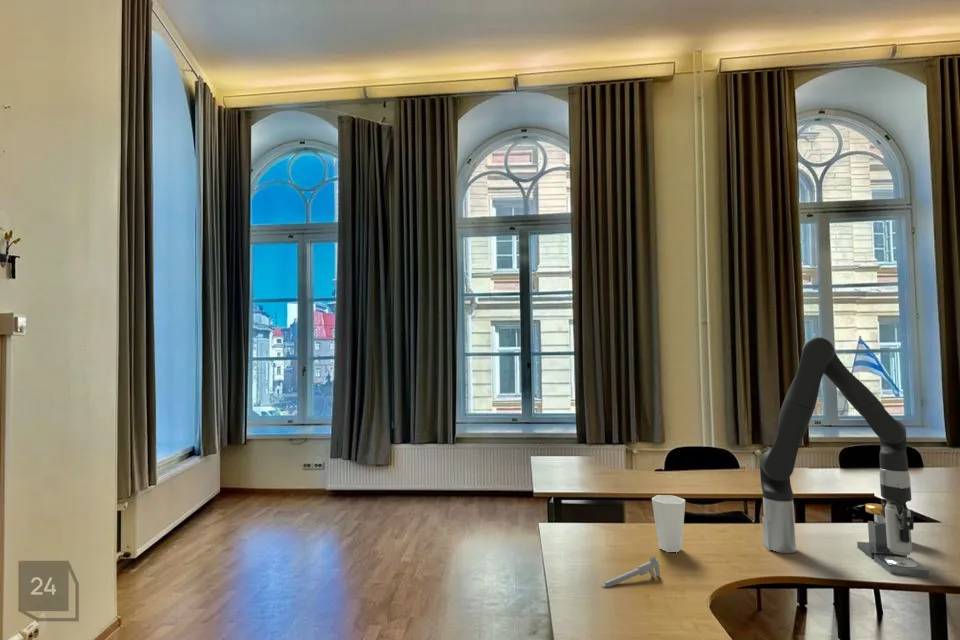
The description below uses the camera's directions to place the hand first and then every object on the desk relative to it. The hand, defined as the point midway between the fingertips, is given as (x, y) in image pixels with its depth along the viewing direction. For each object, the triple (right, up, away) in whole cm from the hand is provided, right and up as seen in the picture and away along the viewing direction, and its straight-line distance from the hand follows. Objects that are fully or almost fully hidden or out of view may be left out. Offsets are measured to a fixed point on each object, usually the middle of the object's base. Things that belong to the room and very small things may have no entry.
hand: (898, 537), depth 160 cm
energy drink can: (0, -5, 0) cm, 5 cm away
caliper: (-87, -10, -7) cm, 87 cm away
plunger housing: (+3, -10, +11) cm, 15 cm away
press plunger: (+3, -4, +11) cm, 12 cm away
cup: (-66, -12, +17) cm, 69 cm away
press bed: (0, -9, -1) cm, 9 cm away
